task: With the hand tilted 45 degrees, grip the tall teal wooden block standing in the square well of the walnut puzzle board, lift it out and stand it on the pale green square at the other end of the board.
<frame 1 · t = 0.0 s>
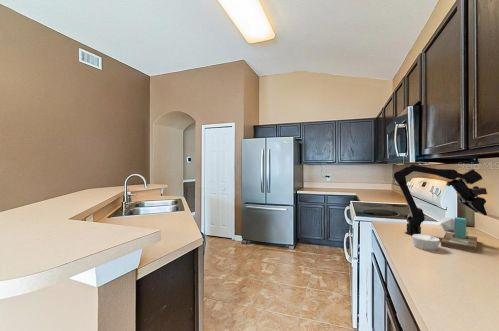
hand: (481, 213, 130), 15 cm above the worktop, tool tilted 35°, fingers open, 9 cm apart
teal block: (460, 241, 129), resting in puzzle board
ramekin: (425, 248, 120), on the worktop
die: (448, 230, 150), on the worktop
puzzle board: (459, 243, 125), on the worktop
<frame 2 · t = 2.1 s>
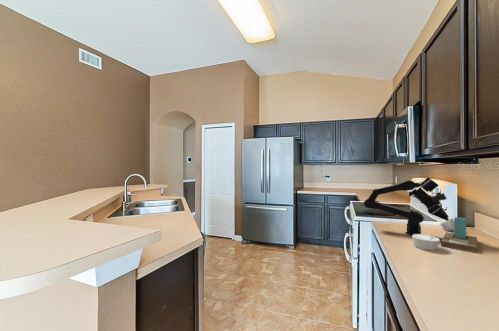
hand: (448, 218, 132), 12 cm above the worktop, tool tilted 45°, fingers open, 9 cm apart
nothing on the worktop moved.
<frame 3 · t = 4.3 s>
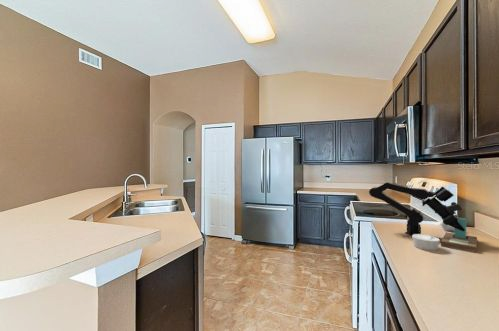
hand: (463, 229, 128), 7 cm above the worktop, tool tilted 45°, fingers closed on teal block, 5 cm apart
teal block: (460, 241, 129), resting in puzzle board, touching gripper
everything else where it was.
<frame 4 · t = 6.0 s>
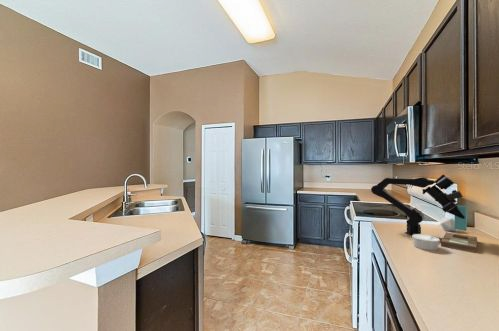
hand: (464, 217, 127), 13 cm above the worktop, tool tilted 45°, fingers closed on teal block, 5 cm apart
teal block: (460, 229, 128), point 7 cm above the worktop, touching gripper
everything else where it was.
when the fingers open (10 cm above the worktop, at t = 7.9 s): teal block stays where it is, resting on puzzle board.
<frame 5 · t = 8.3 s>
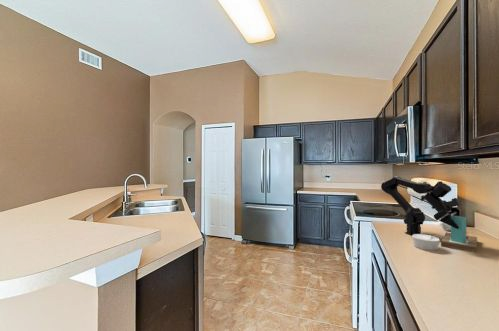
hand: (462, 227, 120), 10 cm above the worktop, tool tilted 45°, fingers open, 8 cm apart
teal block: (458, 241, 121), point 3 cm above the worktop, touching puzzle board
everything else where it was.
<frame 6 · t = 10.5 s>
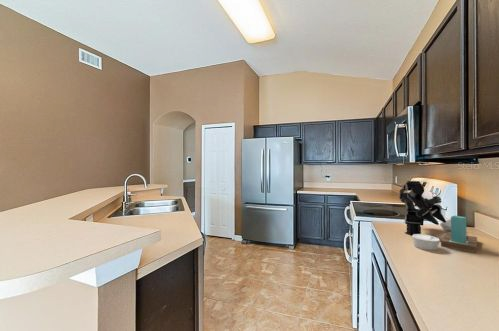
hand: (441, 223, 128), 10 cm above the worktop, tool tilted 45°, fingers open, 9 cm apart
nothing on the worktop moved.
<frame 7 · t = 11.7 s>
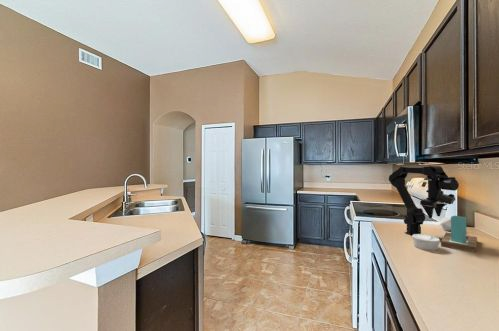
hand: (434, 217, 130), 13 cm above the worktop, tool pointing down, fingers open, 9 cm apart
nothing on the worktop moved.
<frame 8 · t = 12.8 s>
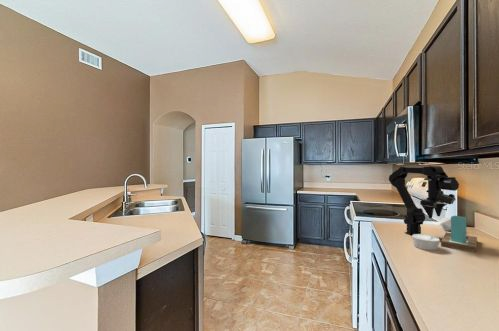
hand: (434, 217, 130), 13 cm above the worktop, tool pointing down, fingers open, 9 cm apart
nothing on the worktop moved.
at the end: teal block 0.1 cm from the target spot on the puzzle board, point 2.6 cm above the puzzle board's base; teal block tilted 0°; the gripper is holding nothing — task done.
